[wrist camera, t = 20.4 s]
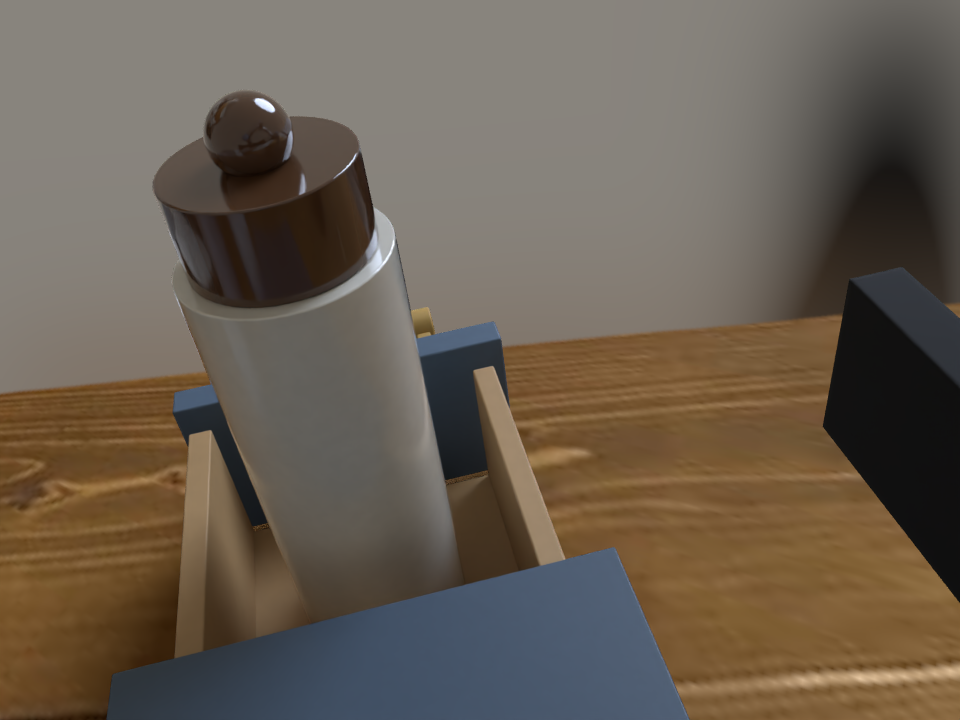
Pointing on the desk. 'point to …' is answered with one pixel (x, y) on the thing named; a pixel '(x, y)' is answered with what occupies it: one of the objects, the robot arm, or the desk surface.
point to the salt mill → (311, 352)
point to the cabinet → (435, 659)
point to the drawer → (463, 450)
